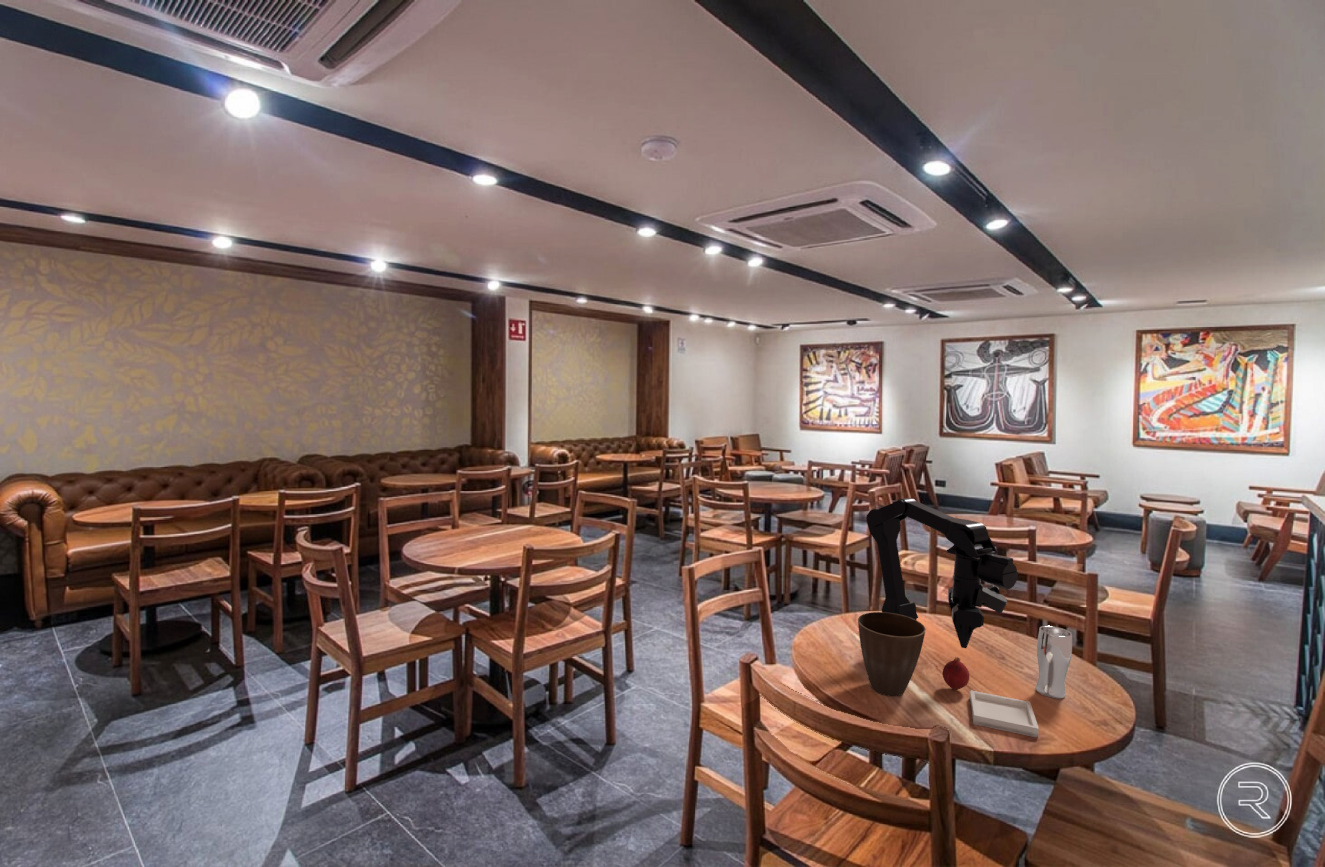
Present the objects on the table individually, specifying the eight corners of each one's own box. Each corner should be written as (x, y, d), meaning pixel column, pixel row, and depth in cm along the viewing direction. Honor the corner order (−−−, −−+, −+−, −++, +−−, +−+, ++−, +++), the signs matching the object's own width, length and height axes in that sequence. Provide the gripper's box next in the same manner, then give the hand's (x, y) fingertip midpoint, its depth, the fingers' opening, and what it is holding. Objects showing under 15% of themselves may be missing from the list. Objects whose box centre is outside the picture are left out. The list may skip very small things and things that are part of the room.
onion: (966, 698, 145) (969, 665, 144) (939, 691, 148) (942, 658, 147) (969, 688, 150) (972, 656, 149) (943, 681, 153) (945, 650, 152)
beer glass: (1073, 701, 145) (1078, 638, 144) (1040, 697, 146) (1045, 635, 145) (1060, 687, 152) (1065, 627, 150) (1029, 683, 153) (1033, 623, 152)
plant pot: (922, 710, 139) (927, 640, 137) (852, 697, 144) (856, 629, 142) (920, 681, 152) (924, 617, 151) (856, 670, 158) (859, 608, 156)
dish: (973, 723, 134) (973, 714, 134) (969, 698, 145) (970, 690, 145) (1038, 737, 129) (1038, 728, 129) (1029, 710, 140) (1029, 701, 140)
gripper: (1012, 593, 135) (1006, 662, 137) (1000, 569, 153) (994, 631, 154) (955, 585, 139) (950, 653, 141) (949, 563, 157) (945, 623, 158)
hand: (962, 640), depth 148 cm, fingers open, 9 cm apart
